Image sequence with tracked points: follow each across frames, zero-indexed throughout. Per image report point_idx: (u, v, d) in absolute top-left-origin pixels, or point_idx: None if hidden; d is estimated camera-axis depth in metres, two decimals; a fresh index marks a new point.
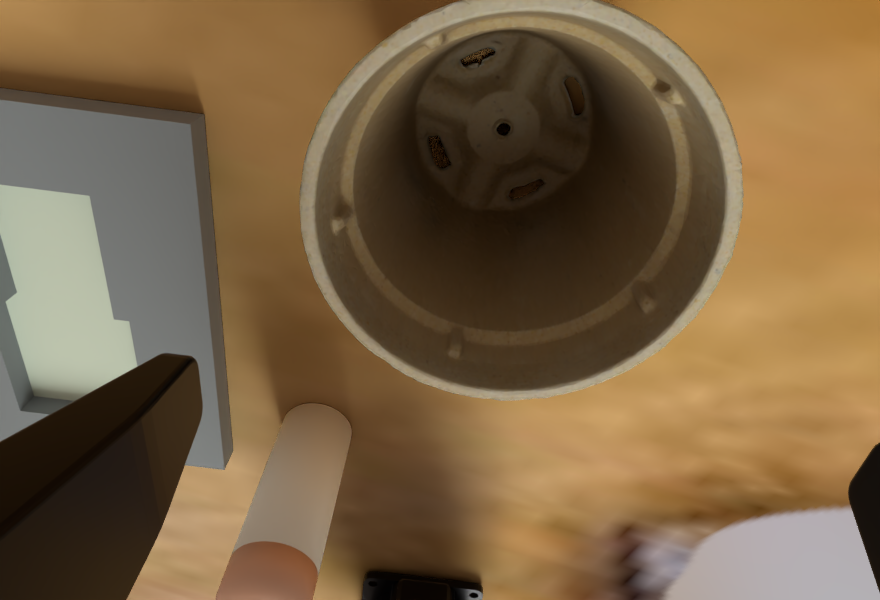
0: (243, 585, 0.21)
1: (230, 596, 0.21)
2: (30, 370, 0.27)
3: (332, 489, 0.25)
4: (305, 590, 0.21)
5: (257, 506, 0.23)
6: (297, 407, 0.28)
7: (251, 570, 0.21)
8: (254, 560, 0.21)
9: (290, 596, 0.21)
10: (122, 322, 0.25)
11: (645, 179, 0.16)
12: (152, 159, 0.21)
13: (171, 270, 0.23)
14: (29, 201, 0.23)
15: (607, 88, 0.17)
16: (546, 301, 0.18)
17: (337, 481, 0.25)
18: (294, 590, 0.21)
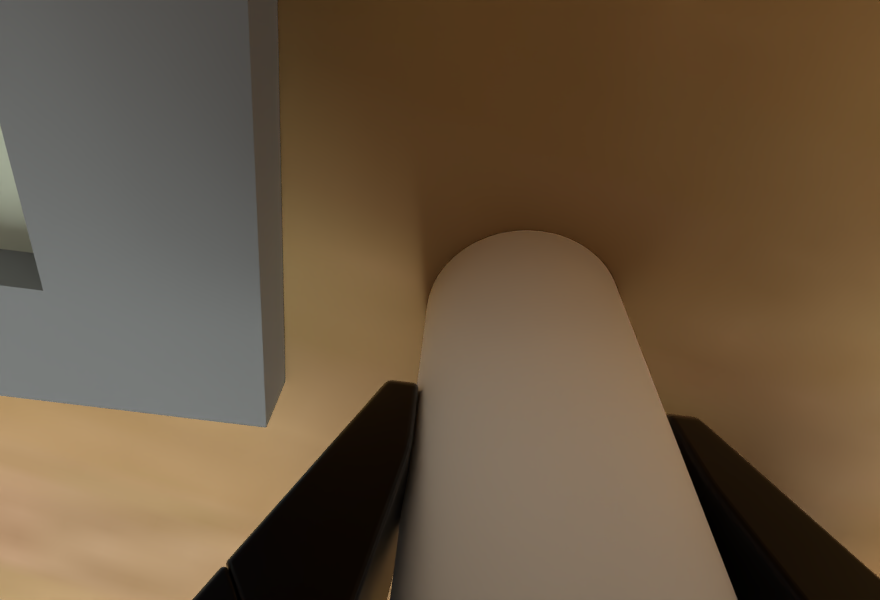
0: None
1: None
2: None
3: None
4: None
5: (463, 553, 0.05)
6: (480, 244, 0.10)
7: None
8: None
9: None
10: None
11: None
12: None
13: None
14: None
15: None
16: None
17: None
18: None
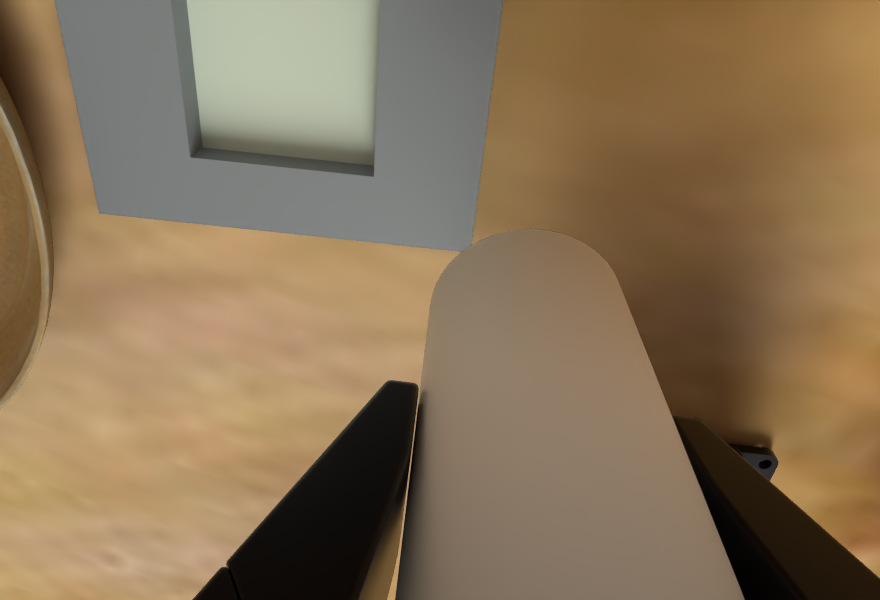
0: None
1: None
2: (203, 99, 0.19)
3: None
4: None
5: (469, 551, 0.05)
6: (484, 243, 0.10)
7: None
8: None
9: None
10: None
11: None
12: None
13: None
14: None
15: None
16: None
17: None
18: None
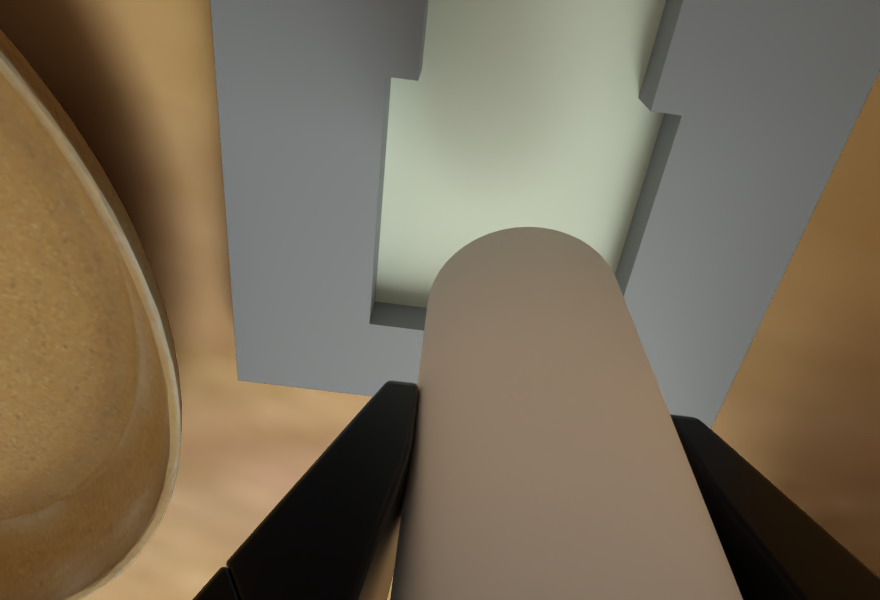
0: None
1: None
2: (386, 248, 0.14)
3: None
4: None
5: (465, 550, 0.05)
6: (481, 241, 0.10)
7: None
8: None
9: None
10: (613, 138, 0.13)
11: None
12: None
13: None
14: None
15: None
16: None
17: None
18: None
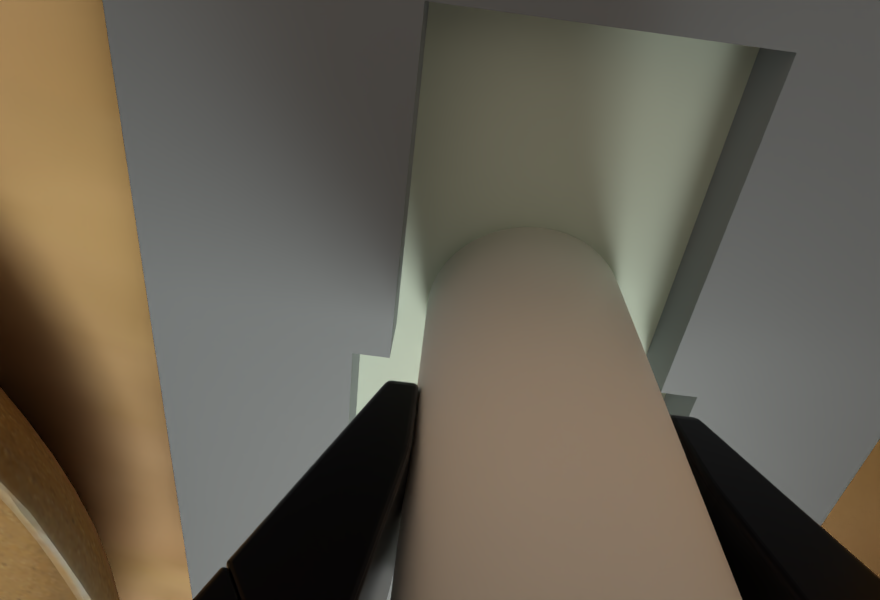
0: None
1: None
2: None
3: None
4: None
5: (463, 549, 0.05)
6: (481, 241, 0.10)
7: None
8: None
9: None
10: None
11: None
12: None
13: None
14: (527, 90, 0.09)
15: None
16: None
17: None
18: None
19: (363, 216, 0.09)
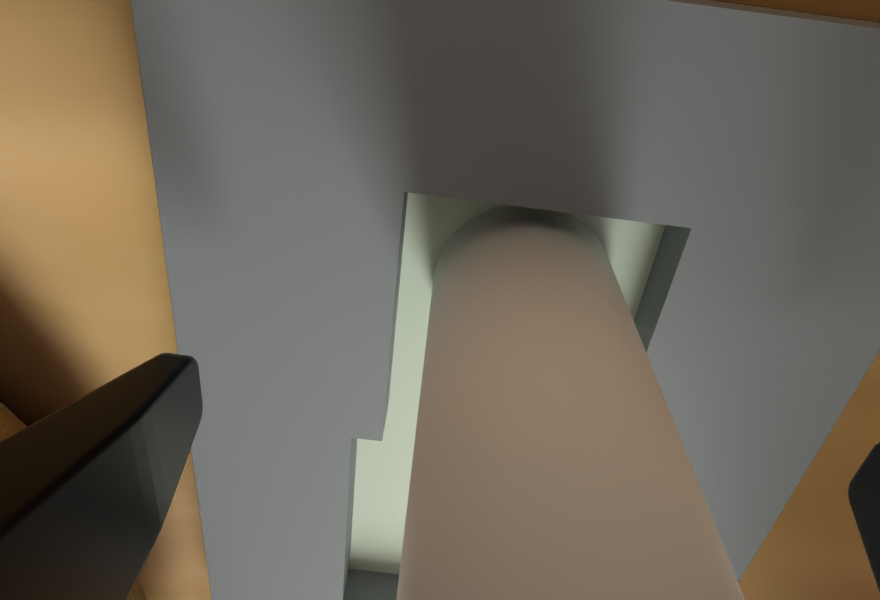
0: None
1: None
2: (359, 531, 0.15)
3: None
4: None
5: (471, 454, 0.06)
6: (482, 217, 0.11)
7: None
8: None
9: None
10: None
11: None
12: None
13: (785, 381, 0.11)
14: None
15: None
16: None
17: None
18: None
19: (359, 338, 0.11)
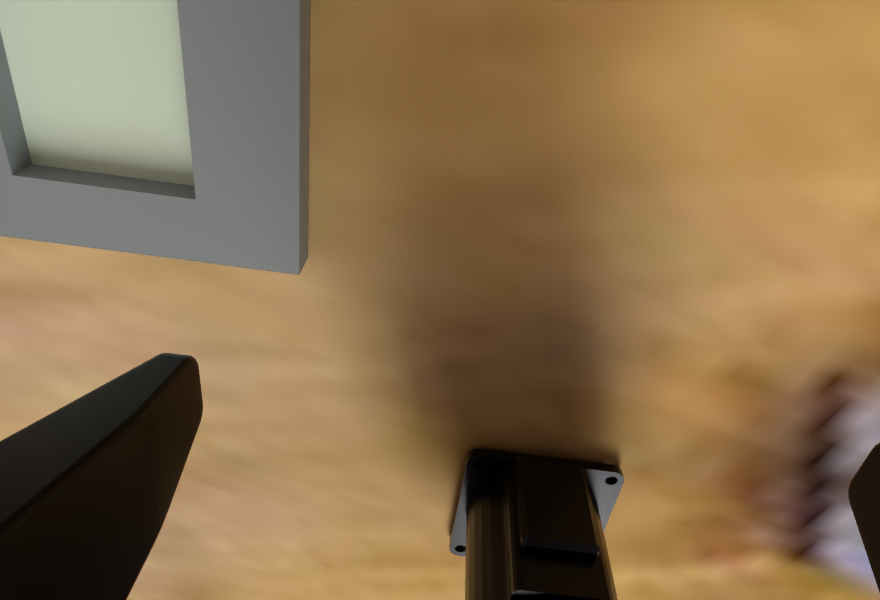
0: None
1: None
2: (27, 118, 0.19)
3: None
4: None
5: None
6: None
7: None
8: None
9: None
10: (163, 25, 0.17)
11: None
12: None
13: None
14: None
15: None
16: None
17: None
18: None
19: None
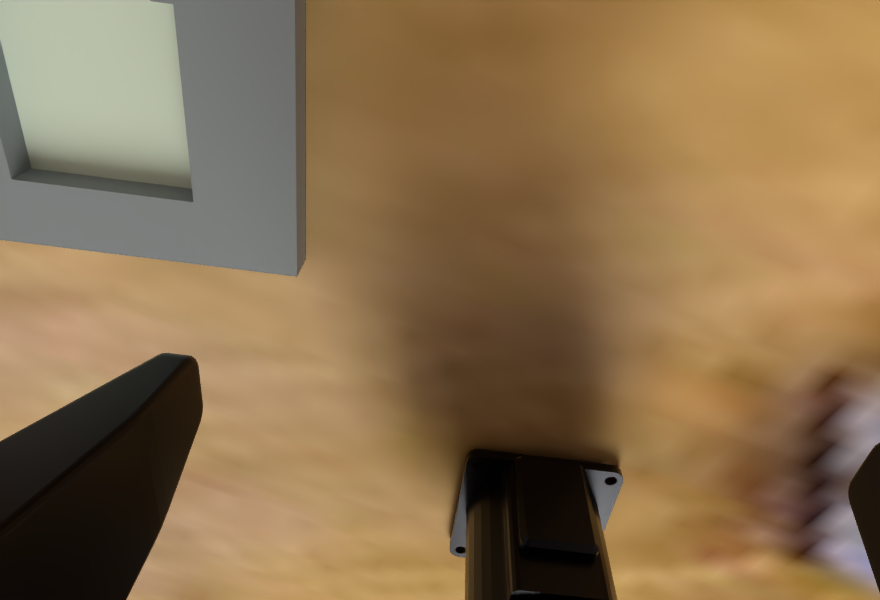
0: None
1: None
2: (26, 122, 0.19)
3: None
4: None
5: None
6: None
7: None
8: None
9: None
10: (160, 29, 0.17)
11: None
12: None
13: None
14: None
15: None
16: None
17: None
18: None
19: None
